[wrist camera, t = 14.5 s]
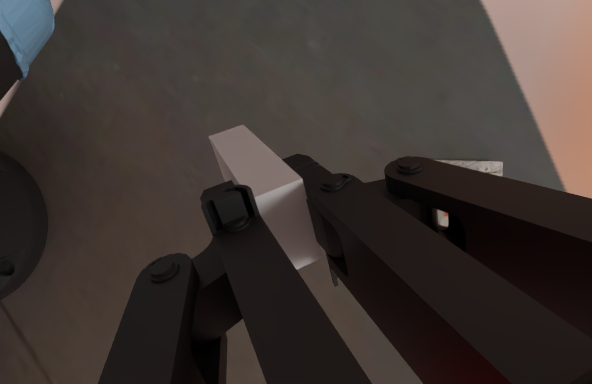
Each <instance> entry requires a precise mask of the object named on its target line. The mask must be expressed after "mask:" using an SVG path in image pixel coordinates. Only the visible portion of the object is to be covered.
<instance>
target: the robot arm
mask: <svg viewBox="0 0 592 384" xmlns="http://www.w3.org/2000/svg"><path fill="white" fill-rule="evenodd" d="M54 25H55V24H54V14H53V8H52V6H51V2H50V0H0V100H1V99H2V98H3V97H4V95H5V94H6V93H7V92H8V91H9V90H10V88H11V87H12V86H13V85H14V83H15V82H16V81H17V80H20V81H22V80H24V79H25V78H26V77H27V74H28V71H29V65H30V64H31V63H32V61H33V60H34V59H35V57H36V56H37V54H38V53H39V52H40V50H41V49H42V48H43V46H44V45H45V44H46V42H47V41H48V40H49V38H50V37H51V35H52V32H53V30H54ZM209 139H210V142H211V145H212V147H213V150H214V153H215V156H216V158H217V161H218V164H219V166H220V169H221V172H222V175H223V177H224V180H225V182H224V183H222V184H219V185H217V186H214V187H211V188H209V189H206V190H204V191H203V193H202V196H201V198H200V199H201V202H202V205H201V208H202V211H203V213H204V216H205V218H206V220H207V223H208V225H209V228H210V230H211V232H212V235H213V238H212V241H211V243H210V244H209V246H208V247H207V248H206V249H205V250H204V251H203V252H201V253H200V254H199V255H197V256H196V257H194V258H193V259H191V258H190V257H189V256H188V255H186V254H181V253H176V254H170V255H167V256H164V257H160V258H158V259H156V260H155V261H153V262H151V263H150V264H149V265H148V266H147V267H146V268H145V269H143V270H142V271H141V273H140V274H139V276H138V277H137V279H136V282H135V284H134V287H133V290H132V292H131V295H130V298H129V301H128V303H127V306H126V309H125V312H124V314H123V317H122V320H121V322H120V325H119V328H118V331H117V333H116V336H115V339H114V341H113V344H112V347H111V350H110V352H109V355H108V358H107V360H106V363H105V366H104V369H103V371H102V374H101V377H100V379H99V382H98V384H226V367H227V336H226V331H228V330H229V329H230V328H231V327H233V326H234V325H235V324H236V323H238V322H239V321H240V320H241V319H243V320H244V322H245V325H246V328H247V331H248V333H249V336H250V339H251V342H252V344H253V347H254V350H255V352H256V355H257V358H258V361H259V363H260V366H261V369H262V372H263V374H264V377H265V380H266V383H267V384H372V383H371V382H370V380H369V379H368V377H367V376H366V374H365V373H364V371H363V370H362V368H361V367H360V365H359V364H358V362H357V360H356V359H355V357H354V356H353V354H352V353H351V351H350V350H349V348H348V347H347V345H346V344H345V342H344V341H343V339H342V338H341V336H340V335H339V333H338V332H337V330H336V329H335V327H334V326H333V324H332V323H331V321H330V320H329V318H328V317H327V315H326V314H325V312H324V311H323V309H322V308H321V306H320V305H319V303H318V302H317V300H316V299H315V297H314V296H313V294H312V293H311V291H310V290H309V288H308V286H307V285H306V283H305V282H304V280H303V279H302V277H301V276H300V274H299V273H298V271H297V269H299V268H302V267H304V266H306V265H308V264H310V263H313V262H315V261H317V260H319V259H321V258H322V254H321V250H320V246H319V244H320V245H321V246H322V248H323V249H324V250H325V252H326V256H327V260H328V264H329V268H330V272H331V276H332V280H333V283H334V286H335V287H336V286H338V282H337V277H339V279H340V280H341V281H342V282H343V284H344V285H345V286H346V287H347V289H348V290H349V291H350V292H351V294H352V295H353V296H354V297H355V299H356V300H357V301H358V302H359V304H360V305H361V306H362V307H363V309H364V310H365V311H366V312H367V314H368V315H369V316H370V317H371V319H372V320H373V321H374V322H375V324H376V325H377V326H378V327H379V329H380V330H381V331H382V332H383V334H384V335H385V336H386V337H387V339H388V340H389V341H390V342H391V344H392V345H393V346H394V347H395V349H396V350H397V351H398V352H399V354H400V355H401V356H402V357H403V359H404V360H405V361H406V362H407V364H408V365H409V366H410V367H411V369H412V370H413V371H414V372H415V374H416V375H417V376H418V377H419V379H420V380H421V381H422V382H423V384H592V199H591V198H587V197H583V196H578V195H574V194H570V193H566V192H562V191H558V190H554V189H550V188H546V187H542V186H538V185H534V184H530V183H526V182H522V181H517V180H513V179H509V178H505V177H501V176H497V175H493V174H489V173H485V172H481V171H477V170H473V169H469V168H465V167H460V166H456V165H452V164H448V163H444V162H440V161H436V160H432V159H428V158H423V157H409V156H407V157H403V158H399V159H397V160H395V161H393V162H390V163H389V164H388V165H387V166H386V167H385V170H384V172H385V179H382V180H378V181H373V182H368V183H363V182H362V181H360V180H359V179H358V178H356V177H355V176H352V175H350V174H343V173H338V174H332V173H330V172H329V171H328V170H326V169H325V168H324V167H322V166H320V164H318V163H317V162H315V161H314V160H313V159H312V158H310V157H309V156H306V155H301V154H295V155H293V156H290V157H288V158H285V159H282V160H281V159H280V158H279V157H278V156H277V155H276V154H275V153H274V152H273V151H272V150H270V149H269V148H268V147H267V146H266V145H265V144H264V143H263V142H262V141H261V140H259V139H258V138H257V137H256V136H255V135H254V134H253V133H252V132H251V131H250V130H248V129H247V128H246V127H245V126H244V125H240V126H237V127H235V128H232V129H229V130H226V131H223V132H220V133H217V134H214V135H211V136H209ZM438 210H440V211H443V212H446V213H448V227H445V226H442V225H439V224H438ZM47 231H48V218H47V211H46V206H45V202H44V199H43V196H42V194H41V192H40V189H39V187H38V186H37V184H36V182H35V181H34V179H33V178H32V177H31V175H30V174H29V173H28V172H27V171H26V170H25V169H24V168H23V167H22V166H21V165H20V164H19V163H18V162H17V161H15V160H14V159H12V158H11V157H10V156H8V155H6V154H4V153H2V152H0V300H1V299H3V298H5V297H6V296H8V295H9V294H11V293H12V292H13V291H15V290H16V289H17V288H18V287H19V286H20V285H21V284H22V283H23V282H25V280H26V279H27V278H28V277H29V276H30V274H31V273H32V272H33V270H34V269H35V267H36V265H37V264H38V262H39V260H40V258H41V255H42V253H43V250H44V247H45V243H46V238H47Z"/></svg>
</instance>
